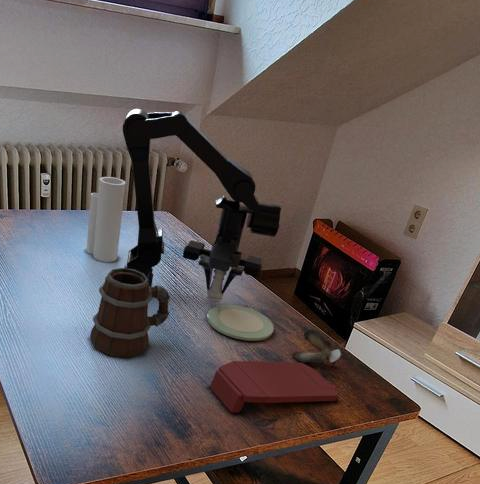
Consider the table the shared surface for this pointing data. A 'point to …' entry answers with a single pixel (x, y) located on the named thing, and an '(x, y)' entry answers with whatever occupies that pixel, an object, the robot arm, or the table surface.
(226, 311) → the plate
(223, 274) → the rook chess piece
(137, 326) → the mug
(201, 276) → the table surface
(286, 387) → the dark red wedge slab
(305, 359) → the eagle figurine
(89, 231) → the vase
